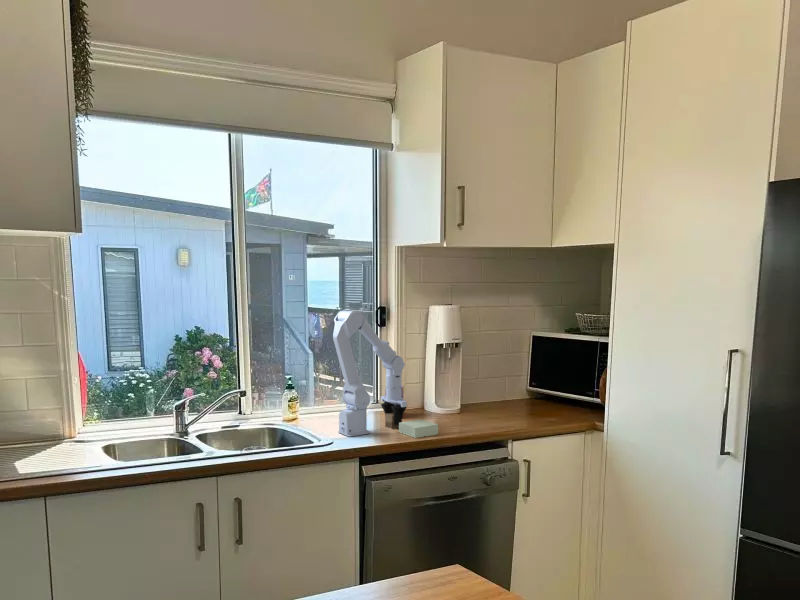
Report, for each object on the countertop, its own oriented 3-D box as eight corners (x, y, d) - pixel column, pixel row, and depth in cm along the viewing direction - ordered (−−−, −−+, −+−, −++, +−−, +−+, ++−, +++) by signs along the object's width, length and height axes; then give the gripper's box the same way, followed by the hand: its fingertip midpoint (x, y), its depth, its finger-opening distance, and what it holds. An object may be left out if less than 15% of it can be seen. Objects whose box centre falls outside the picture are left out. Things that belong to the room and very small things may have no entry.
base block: (415, 438, 207) (415, 428, 207) (399, 432, 215) (399, 422, 215) (438, 434, 213) (438, 424, 213) (421, 428, 221) (421, 419, 221)
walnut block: (391, 429, 221) (391, 415, 221) (385, 426, 224) (385, 413, 224) (402, 427, 223) (402, 414, 223) (395, 425, 227) (395, 412, 227)
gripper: (413, 388, 220) (413, 425, 220) (391, 383, 232) (391, 418, 232) (397, 390, 216) (397, 428, 216) (376, 385, 228) (376, 420, 228)
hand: (393, 423), depth 224 cm, fingers open, 5 cm apart
